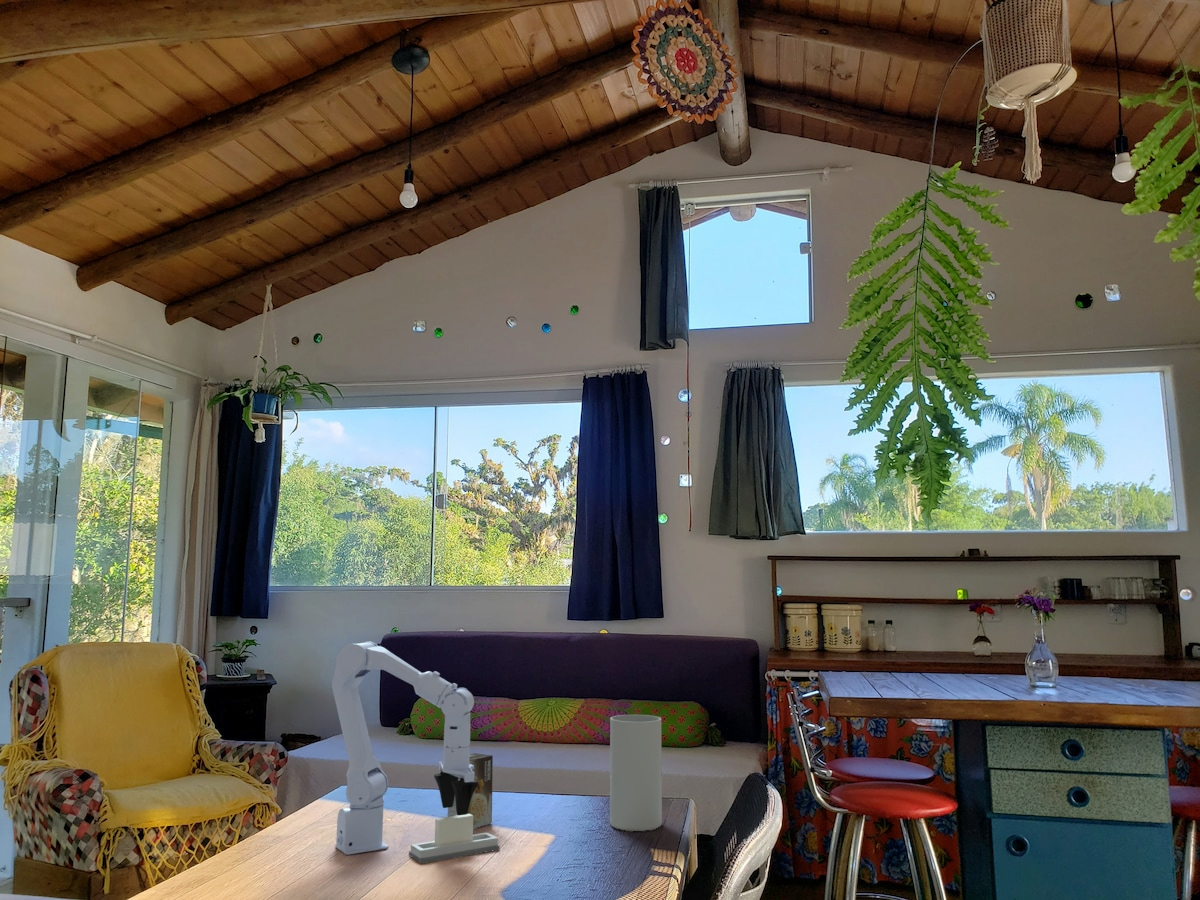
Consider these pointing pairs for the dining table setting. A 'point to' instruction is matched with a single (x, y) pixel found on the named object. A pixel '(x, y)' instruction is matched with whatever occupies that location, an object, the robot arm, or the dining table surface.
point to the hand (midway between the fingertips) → (454, 810)
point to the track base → (453, 848)
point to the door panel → (453, 829)
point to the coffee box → (479, 791)
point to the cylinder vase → (635, 772)
